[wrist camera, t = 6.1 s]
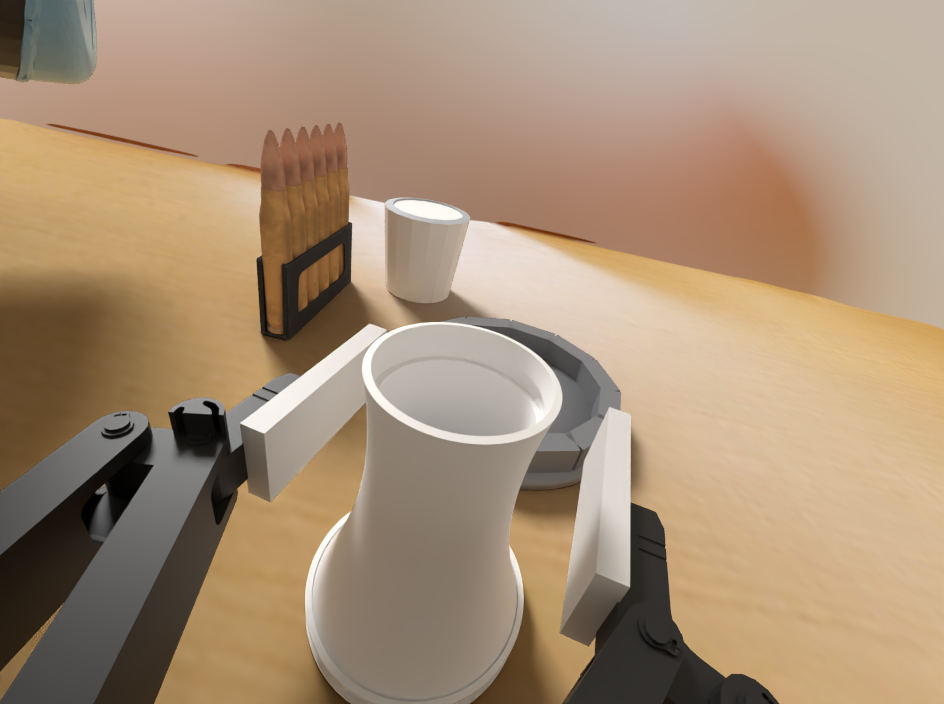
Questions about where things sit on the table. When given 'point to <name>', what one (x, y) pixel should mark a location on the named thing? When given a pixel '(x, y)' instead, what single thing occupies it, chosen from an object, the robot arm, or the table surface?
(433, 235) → the shot glass
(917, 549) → the table surface
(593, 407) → the socket ring
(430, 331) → the vase
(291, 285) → the ammunition clip
